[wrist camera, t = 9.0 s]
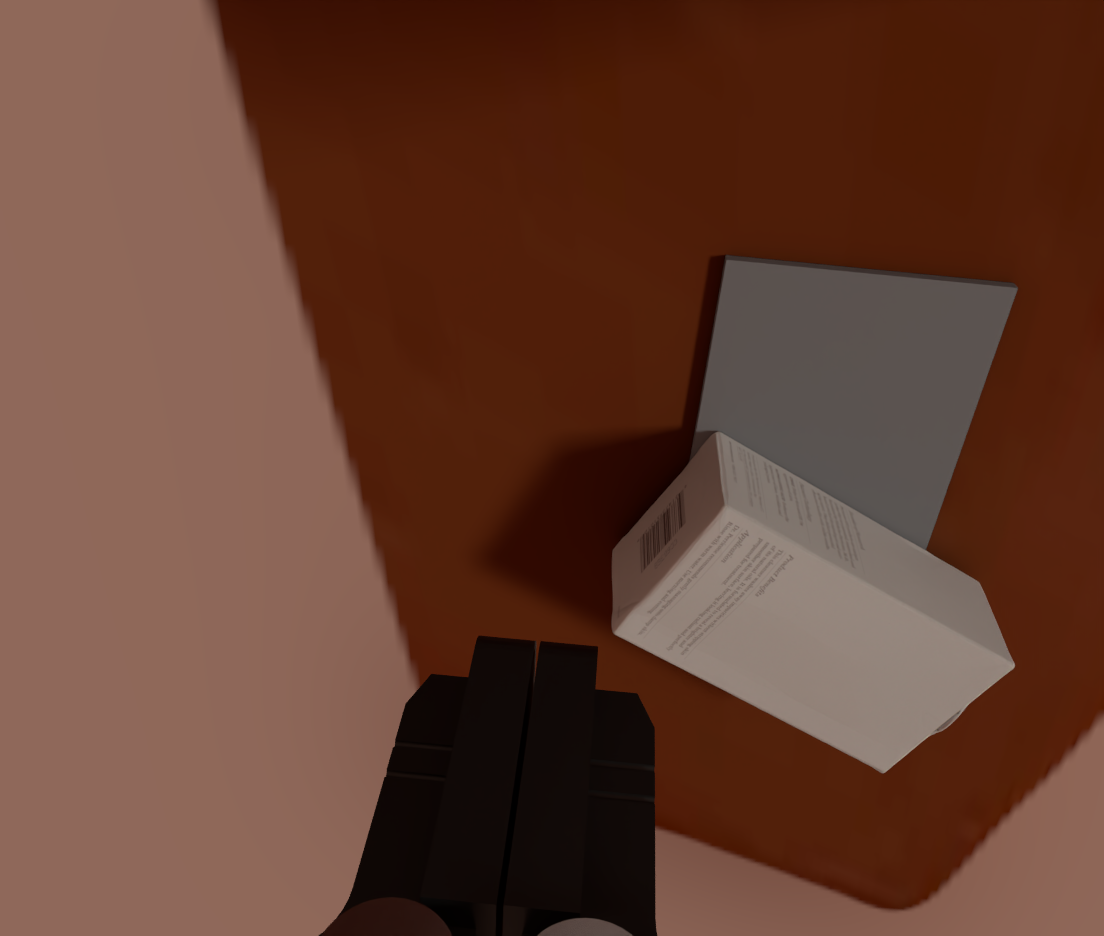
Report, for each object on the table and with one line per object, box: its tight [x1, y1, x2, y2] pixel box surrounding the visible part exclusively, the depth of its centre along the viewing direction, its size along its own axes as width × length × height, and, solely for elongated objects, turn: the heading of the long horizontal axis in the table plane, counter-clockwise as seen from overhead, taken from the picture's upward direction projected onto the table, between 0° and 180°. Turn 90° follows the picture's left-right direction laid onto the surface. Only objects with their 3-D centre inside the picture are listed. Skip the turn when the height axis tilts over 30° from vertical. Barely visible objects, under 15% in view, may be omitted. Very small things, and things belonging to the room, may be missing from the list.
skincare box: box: [611, 432, 1015, 773], centre depth 42 cm, size 8×6×15 cm
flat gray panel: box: [689, 255, 1018, 550], centre depth 41 cm, size 11×16×1 cm
